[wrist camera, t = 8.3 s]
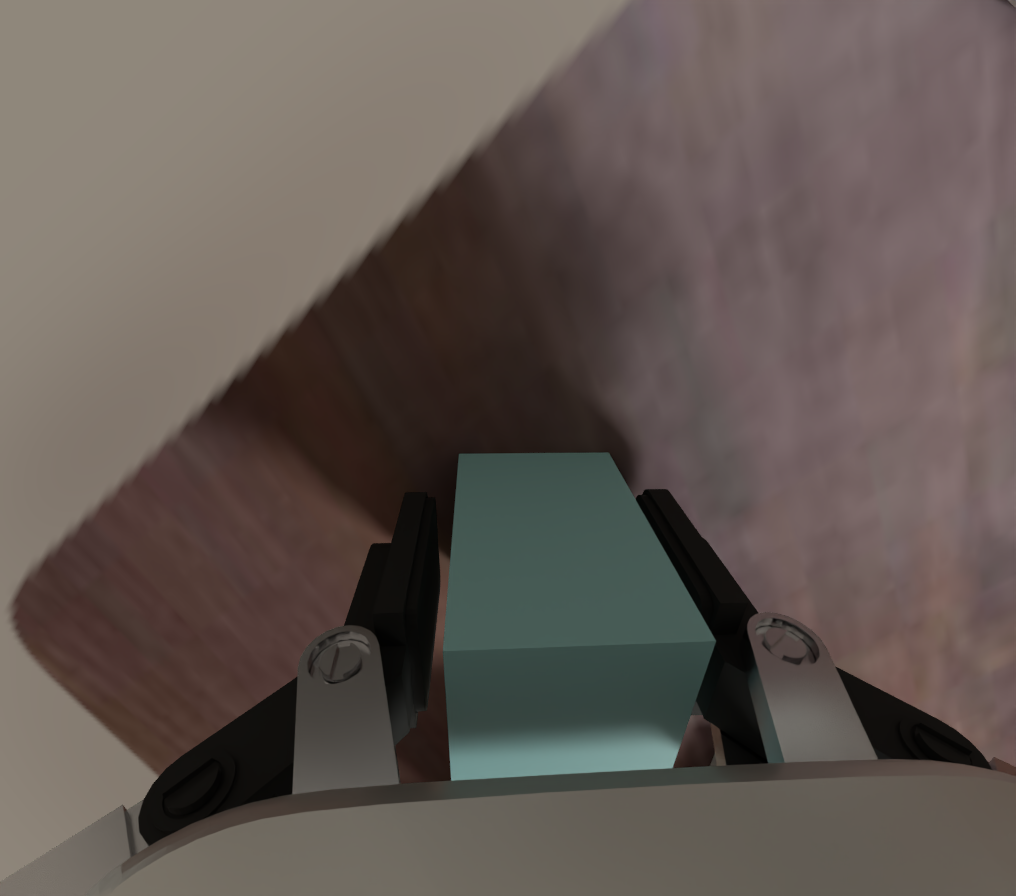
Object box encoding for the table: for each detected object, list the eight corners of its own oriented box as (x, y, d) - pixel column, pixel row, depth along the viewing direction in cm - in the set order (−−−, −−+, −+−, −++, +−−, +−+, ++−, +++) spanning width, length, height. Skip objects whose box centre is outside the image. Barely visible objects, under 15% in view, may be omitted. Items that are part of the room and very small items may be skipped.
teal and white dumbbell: (439, 453, 12) (407, 652, 6) (626, 452, 12) (748, 640, 7) (457, 791, 19) (450, 1013, 14) (572, 785, 19) (607, 999, 14)
